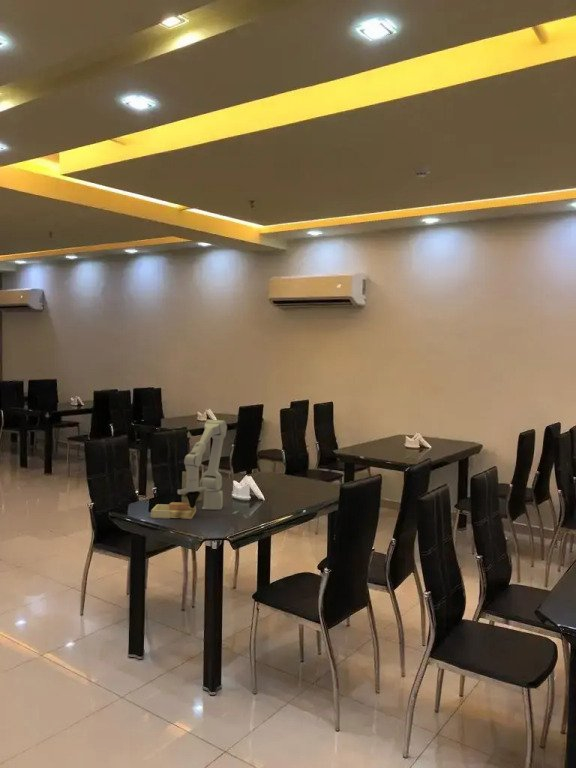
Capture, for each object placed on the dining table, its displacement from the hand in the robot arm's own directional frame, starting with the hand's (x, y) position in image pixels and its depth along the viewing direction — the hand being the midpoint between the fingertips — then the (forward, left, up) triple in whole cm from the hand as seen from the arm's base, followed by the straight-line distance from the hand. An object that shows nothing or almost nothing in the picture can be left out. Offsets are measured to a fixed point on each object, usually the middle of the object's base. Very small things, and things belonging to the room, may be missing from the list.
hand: (192, 507), depth 295 cm
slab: (+4, 0, -4) cm, 6 cm away
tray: (+14, 0, -4) cm, 14 cm away
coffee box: (+5, -30, -4) cm, 30 cm away
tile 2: (+4, 0, -1) cm, 4 cm away
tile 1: (+8, 0, -1) cm, 9 cm away
